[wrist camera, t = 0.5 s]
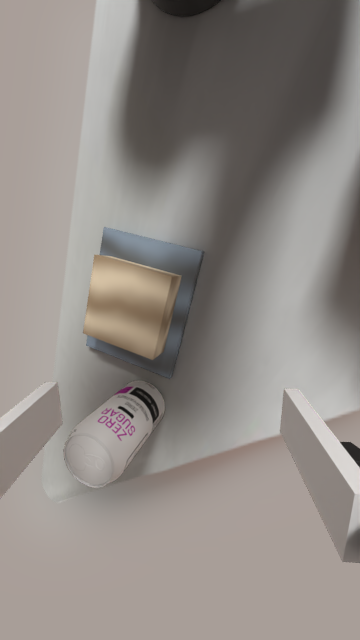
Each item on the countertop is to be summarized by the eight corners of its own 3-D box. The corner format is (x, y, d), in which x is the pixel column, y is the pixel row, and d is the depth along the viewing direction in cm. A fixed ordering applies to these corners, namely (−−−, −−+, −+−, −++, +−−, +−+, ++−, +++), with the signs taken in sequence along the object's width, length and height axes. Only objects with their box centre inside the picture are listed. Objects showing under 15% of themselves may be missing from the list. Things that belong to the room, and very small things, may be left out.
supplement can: (124, 418, 46) (62, 482, 32) (123, 375, 45) (57, 423, 31) (166, 427, 44) (118, 501, 30) (166, 382, 42) (115, 437, 28)
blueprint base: (108, 228, 40) (86, 222, 35) (204, 251, 36) (194, 248, 31) (90, 343, 46) (69, 352, 41) (172, 375, 41) (159, 389, 37)
